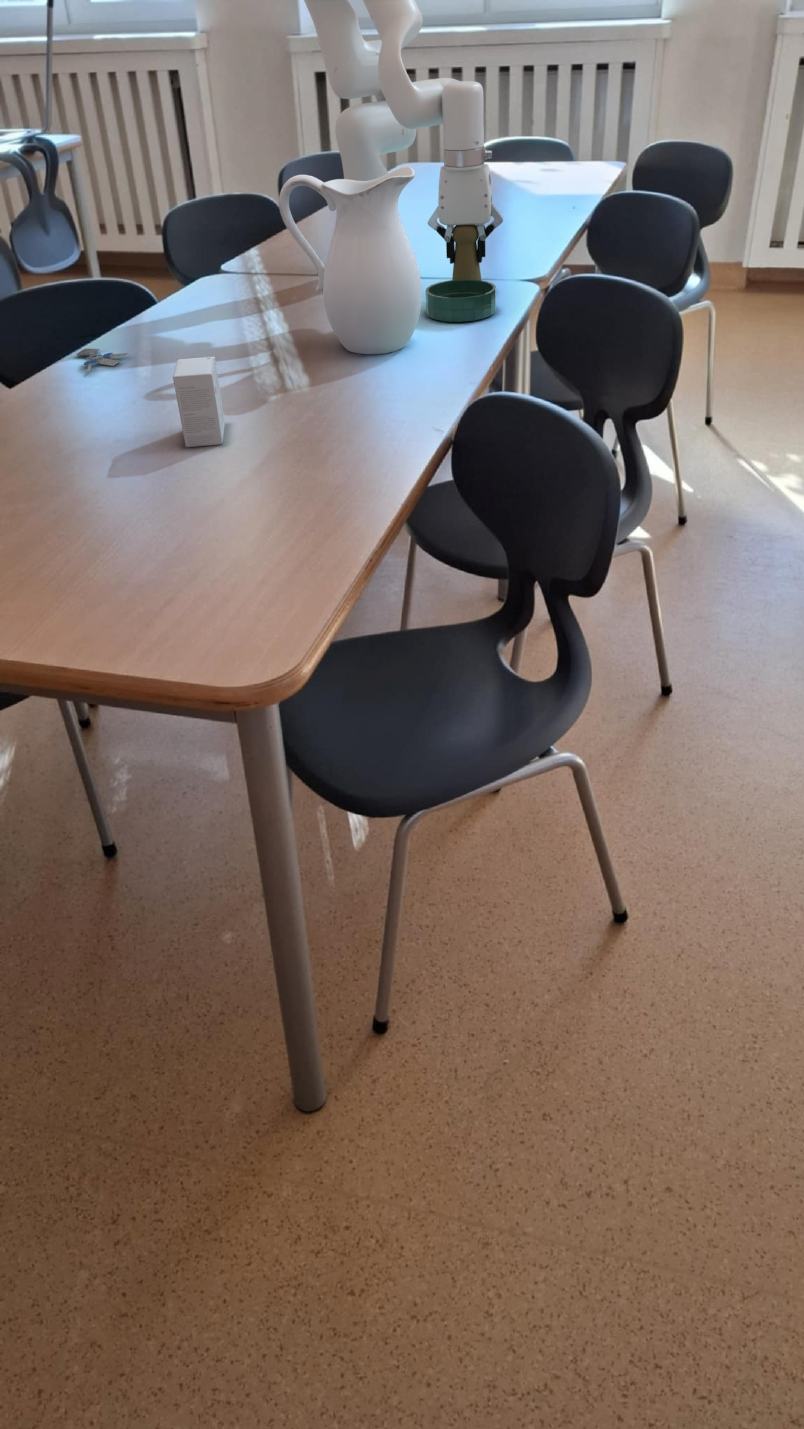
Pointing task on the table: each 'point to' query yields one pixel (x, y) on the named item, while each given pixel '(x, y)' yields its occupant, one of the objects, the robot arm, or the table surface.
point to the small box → (199, 401)
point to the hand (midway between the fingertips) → (466, 260)
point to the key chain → (99, 357)
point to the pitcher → (364, 261)
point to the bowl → (460, 300)
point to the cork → (466, 253)
